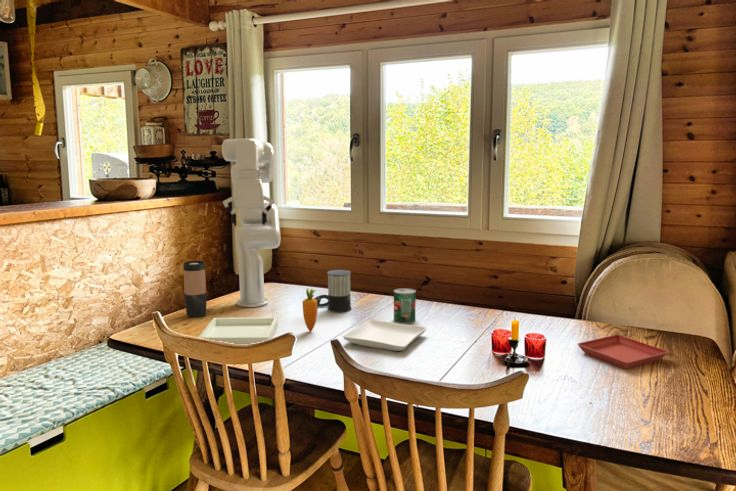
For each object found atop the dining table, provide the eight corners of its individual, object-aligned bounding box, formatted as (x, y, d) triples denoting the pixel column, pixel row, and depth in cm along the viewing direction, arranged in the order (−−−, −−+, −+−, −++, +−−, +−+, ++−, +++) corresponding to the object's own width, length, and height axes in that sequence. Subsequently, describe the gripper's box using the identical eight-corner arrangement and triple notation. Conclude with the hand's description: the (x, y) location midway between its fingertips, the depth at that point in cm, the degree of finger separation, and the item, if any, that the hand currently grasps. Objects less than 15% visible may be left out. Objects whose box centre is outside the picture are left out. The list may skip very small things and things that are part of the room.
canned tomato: (419, 321, 205) (420, 291, 204) (402, 324, 201) (402, 294, 199) (406, 316, 212) (406, 287, 210) (389, 319, 208) (389, 290, 206)
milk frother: (350, 312, 216) (350, 274, 214) (309, 312, 217) (308, 274, 214) (352, 303, 231) (352, 267, 228) (313, 303, 231) (312, 267, 228)
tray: (214, 326, 200) (214, 317, 199) (277, 325, 200) (277, 317, 200) (197, 347, 178) (197, 337, 178) (268, 346, 179) (268, 337, 178)
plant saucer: (626, 373, 158) (627, 362, 157) (575, 353, 173) (576, 342, 173) (669, 362, 166) (670, 351, 165) (616, 344, 182) (617, 334, 181)
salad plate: (427, 336, 190) (427, 326, 189) (404, 356, 171) (404, 345, 170) (369, 328, 199) (369, 318, 198) (341, 346, 180) (341, 336, 179)
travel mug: (210, 312, 217) (207, 260, 214) (202, 318, 209) (199, 264, 206) (190, 312, 218) (188, 260, 214) (182, 317, 210) (179, 264, 207)
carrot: (303, 329, 196) (302, 286, 194) (317, 329, 196) (317, 286, 194) (302, 333, 191) (302, 290, 189) (317, 333, 192) (317, 289, 189)
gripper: (272, 174, 201) (273, 223, 204) (221, 175, 197) (223, 224, 199) (274, 175, 194) (275, 225, 196) (221, 175, 190) (224, 227, 192)
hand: (249, 225), depth 198 cm, fingers open, 9 cm apart
